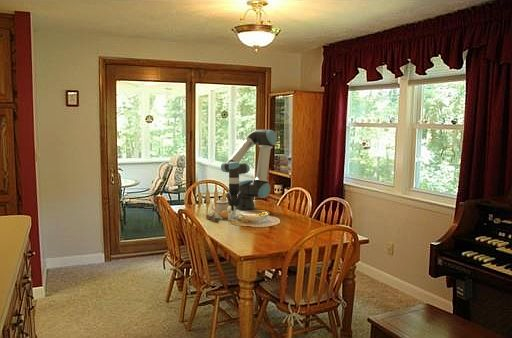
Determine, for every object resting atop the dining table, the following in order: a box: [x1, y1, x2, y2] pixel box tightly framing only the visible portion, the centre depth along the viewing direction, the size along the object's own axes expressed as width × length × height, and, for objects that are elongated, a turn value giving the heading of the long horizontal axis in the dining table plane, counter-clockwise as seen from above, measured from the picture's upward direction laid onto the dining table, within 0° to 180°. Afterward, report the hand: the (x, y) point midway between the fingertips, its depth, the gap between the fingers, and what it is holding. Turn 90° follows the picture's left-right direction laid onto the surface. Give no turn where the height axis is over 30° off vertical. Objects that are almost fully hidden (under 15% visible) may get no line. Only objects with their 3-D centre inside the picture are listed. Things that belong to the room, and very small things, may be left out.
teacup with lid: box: [211, 198, 228, 216], centre depth 344 cm, size 12×9×12 cm
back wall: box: [205, 213, 219, 223], centre depth 322 cm, size 14×2×3 cm, turn 35°
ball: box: [220, 210, 228, 219], centre depth 327 cm, size 6×6×6 cm
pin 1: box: [209, 210, 221, 220], centre depth 323 cm, size 2×2×8 cm
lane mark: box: [219, 215, 240, 221], centre depth 330 cm, size 18×8×1 cm, turn 125°
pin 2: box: [227, 207, 232, 222], centre depth 321 cm, size 2×2×8 cm
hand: (233, 214), depth 332 cm, fingers closed
